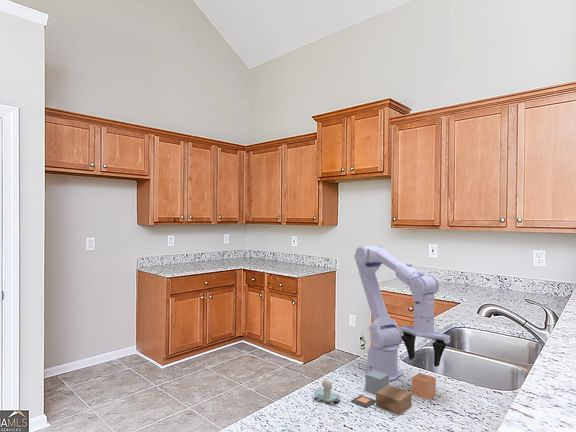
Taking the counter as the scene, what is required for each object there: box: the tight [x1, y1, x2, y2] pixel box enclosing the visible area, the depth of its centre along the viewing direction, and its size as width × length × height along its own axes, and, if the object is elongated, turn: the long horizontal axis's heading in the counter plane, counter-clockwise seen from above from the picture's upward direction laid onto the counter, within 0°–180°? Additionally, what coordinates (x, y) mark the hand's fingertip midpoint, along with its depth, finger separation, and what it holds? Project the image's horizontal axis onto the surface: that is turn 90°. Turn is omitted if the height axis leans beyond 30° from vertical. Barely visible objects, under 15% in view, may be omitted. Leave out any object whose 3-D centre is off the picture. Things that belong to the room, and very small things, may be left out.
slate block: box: [364, 370, 390, 396], centre depth 109 cm, size 5×5×5 cm
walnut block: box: [375, 384, 413, 416], centre depth 99 cm, size 7×7×4 cm
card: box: [350, 394, 376, 409], centre depth 101 cm, size 5×5×1 cm
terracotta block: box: [411, 372, 437, 401], centre depth 107 cm, size 5×5×5 cm
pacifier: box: [314, 378, 341, 404], centre depth 103 cm, size 7×6×6 cm
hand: (424, 362), depth 107 cm, fingers open, 7 cm apart
